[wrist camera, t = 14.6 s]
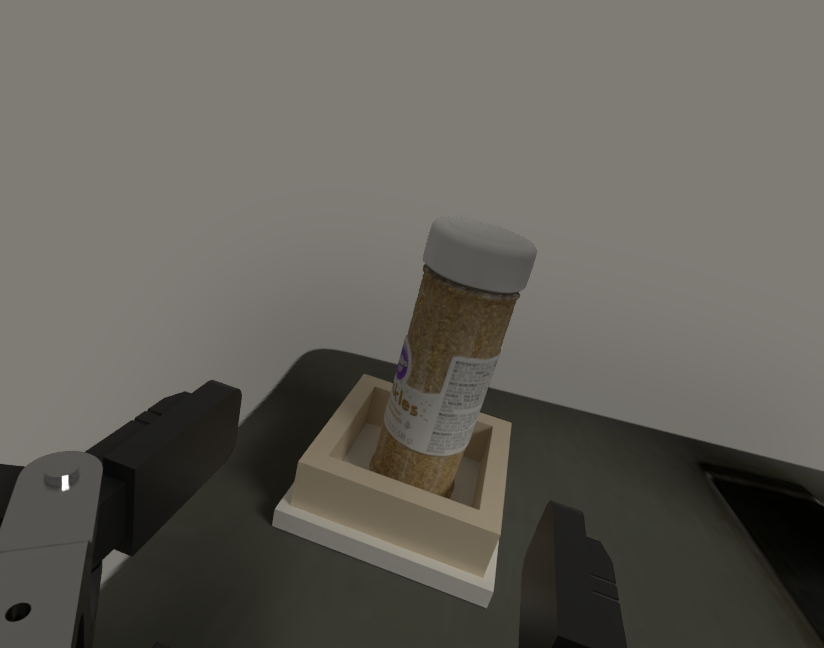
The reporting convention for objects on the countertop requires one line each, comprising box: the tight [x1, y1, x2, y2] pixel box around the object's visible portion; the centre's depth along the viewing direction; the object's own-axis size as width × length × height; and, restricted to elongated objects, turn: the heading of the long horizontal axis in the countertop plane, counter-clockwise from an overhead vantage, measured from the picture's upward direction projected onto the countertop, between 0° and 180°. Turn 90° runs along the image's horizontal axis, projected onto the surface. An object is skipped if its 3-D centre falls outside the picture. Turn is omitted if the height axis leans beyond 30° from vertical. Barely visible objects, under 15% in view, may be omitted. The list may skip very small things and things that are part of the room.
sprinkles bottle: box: [369, 217, 537, 499], centre depth 24 cm, size 5×5×13 cm
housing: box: [272, 374, 512, 608], centre depth 26 cm, size 10×10×4 cm
